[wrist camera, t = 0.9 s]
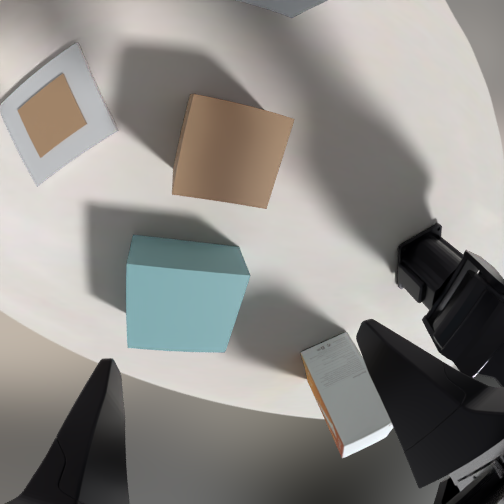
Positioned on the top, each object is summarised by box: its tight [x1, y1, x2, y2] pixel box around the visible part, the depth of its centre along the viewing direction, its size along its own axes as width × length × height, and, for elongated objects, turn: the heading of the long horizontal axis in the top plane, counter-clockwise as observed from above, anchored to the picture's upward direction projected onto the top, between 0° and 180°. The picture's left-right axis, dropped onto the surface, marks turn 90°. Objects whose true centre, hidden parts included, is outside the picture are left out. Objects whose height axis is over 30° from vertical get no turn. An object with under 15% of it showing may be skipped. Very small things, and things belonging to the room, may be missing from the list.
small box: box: [300, 332, 393, 458], centre depth 28 cm, size 8×6×13 cm
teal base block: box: [126, 235, 250, 352], centre depth 21 cm, size 8×8×4 cm
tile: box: [0, 43, 119, 187], centre depth 13 cm, size 7×7×1 cm
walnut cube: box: [172, 94, 294, 209], centre depth 15 cm, size 5×5×5 cm
